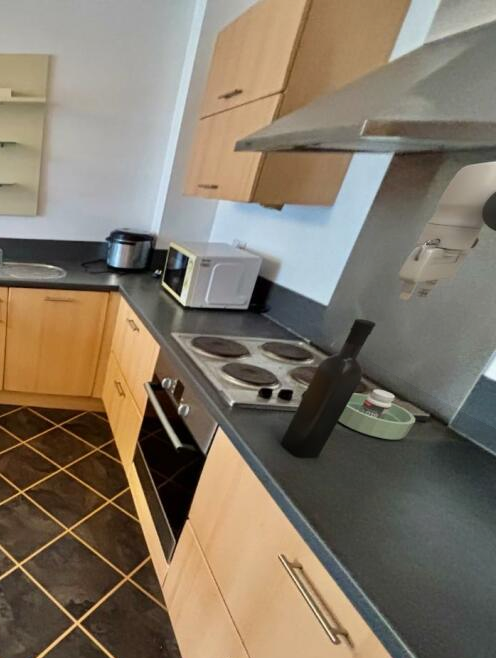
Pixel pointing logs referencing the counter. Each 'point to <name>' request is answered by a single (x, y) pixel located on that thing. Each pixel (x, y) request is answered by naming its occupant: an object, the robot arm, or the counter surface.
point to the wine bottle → (327, 395)
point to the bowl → (377, 420)
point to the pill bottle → (377, 404)
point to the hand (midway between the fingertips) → (413, 297)
